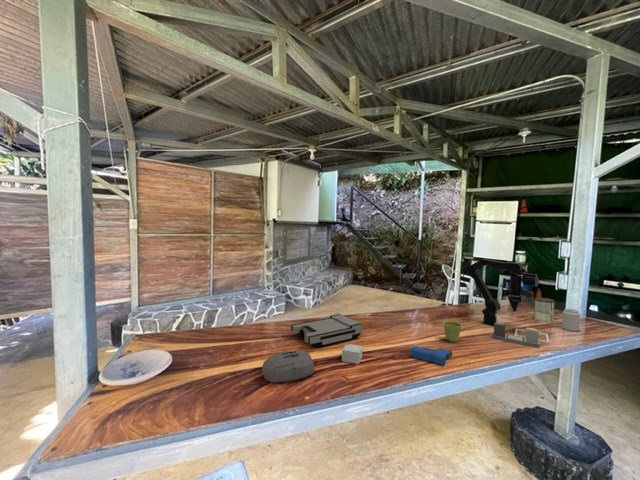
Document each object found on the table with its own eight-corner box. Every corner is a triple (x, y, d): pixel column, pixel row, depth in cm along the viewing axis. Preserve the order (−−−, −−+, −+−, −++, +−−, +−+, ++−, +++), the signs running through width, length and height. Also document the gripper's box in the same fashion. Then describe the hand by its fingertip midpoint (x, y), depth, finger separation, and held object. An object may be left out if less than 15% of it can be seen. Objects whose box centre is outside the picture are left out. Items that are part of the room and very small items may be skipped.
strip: (492, 338, 150) (492, 335, 150) (493, 333, 157) (494, 331, 157) (539, 348, 138) (539, 345, 138) (538, 342, 145) (538, 339, 145)
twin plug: (493, 335, 151) (494, 323, 151) (494, 332, 155) (495, 321, 155) (504, 337, 148) (505, 325, 148) (505, 334, 152) (505, 323, 152)
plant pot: (442, 342, 144) (443, 325, 144) (441, 335, 153) (442, 320, 153) (462, 344, 141) (463, 327, 141) (460, 338, 150) (460, 322, 150)
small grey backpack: (304, 361, 120) (258, 370, 112) (304, 342, 120) (258, 350, 112) (317, 378, 107) (266, 389, 99) (318, 357, 106) (266, 366, 98)
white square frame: (514, 337, 152) (514, 335, 152) (515, 329, 164) (515, 328, 164) (549, 343, 143) (549, 342, 143) (547, 335, 155) (547, 334, 155)
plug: (525, 341, 143) (526, 329, 143) (525, 338, 147) (526, 326, 147) (538, 343, 140) (538, 331, 140) (537, 340, 144) (538, 328, 144)
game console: (290, 337, 148) (291, 322, 148) (339, 327, 165) (339, 313, 165) (309, 352, 131) (310, 334, 130) (361, 339, 147) (362, 324, 147)
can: (572, 328, 169) (573, 308, 168) (582, 332, 161) (583, 312, 161) (559, 327, 170) (559, 308, 169) (568, 331, 162) (569, 311, 162)
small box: (359, 364, 118) (359, 352, 118) (341, 361, 121) (341, 349, 121) (362, 357, 126) (362, 345, 126) (345, 354, 128) (346, 343, 128)
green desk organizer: (532, 316, 191) (532, 296, 190) (550, 319, 186) (551, 298, 186) (536, 321, 181) (537, 299, 181) (556, 323, 177) (557, 301, 177)
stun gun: (418, 341, 138) (410, 348, 126) (452, 348, 129) (447, 357, 117) (418, 349, 138) (409, 357, 126) (452, 357, 129) (446, 367, 117)
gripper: (533, 287, 151) (532, 316, 151) (532, 283, 166) (531, 308, 166) (508, 285, 158) (507, 312, 158) (510, 281, 173) (509, 305, 173)
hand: (514, 309), depth 164 cm, fingers open, 9 cm apart
